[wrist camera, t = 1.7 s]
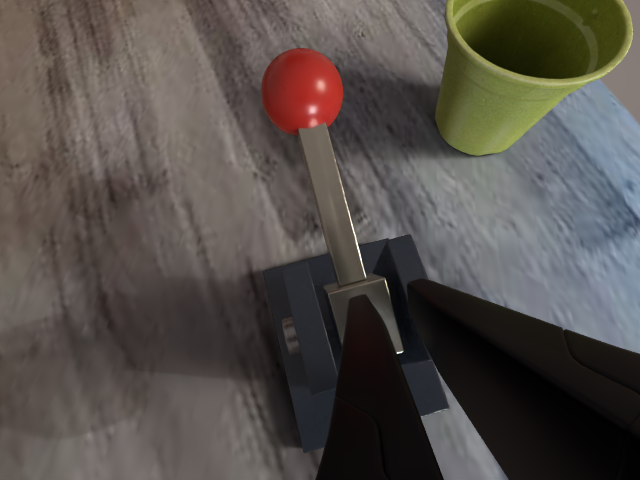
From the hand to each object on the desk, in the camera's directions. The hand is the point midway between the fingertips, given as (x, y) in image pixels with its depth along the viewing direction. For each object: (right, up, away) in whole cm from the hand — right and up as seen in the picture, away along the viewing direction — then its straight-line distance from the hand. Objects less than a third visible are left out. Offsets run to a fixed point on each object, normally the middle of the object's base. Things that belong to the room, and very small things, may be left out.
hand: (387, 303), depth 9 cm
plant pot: (+10, +10, +18) cm, 23 cm away
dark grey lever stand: (0, -4, +13) cm, 14 cm away
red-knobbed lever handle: (-1, +3, +7) cm, 8 cm away
